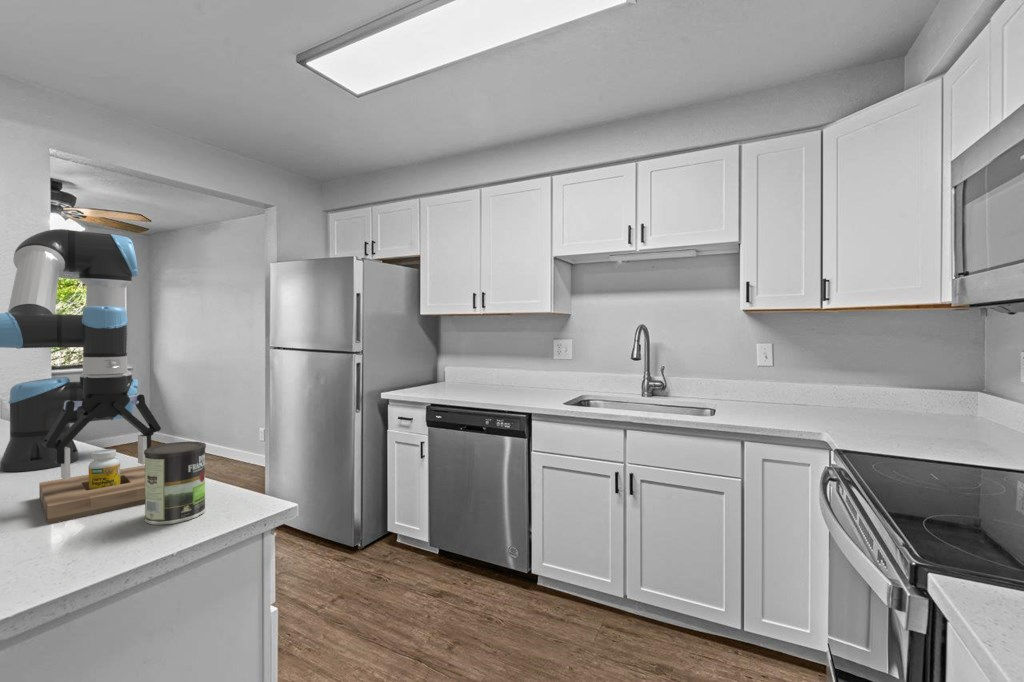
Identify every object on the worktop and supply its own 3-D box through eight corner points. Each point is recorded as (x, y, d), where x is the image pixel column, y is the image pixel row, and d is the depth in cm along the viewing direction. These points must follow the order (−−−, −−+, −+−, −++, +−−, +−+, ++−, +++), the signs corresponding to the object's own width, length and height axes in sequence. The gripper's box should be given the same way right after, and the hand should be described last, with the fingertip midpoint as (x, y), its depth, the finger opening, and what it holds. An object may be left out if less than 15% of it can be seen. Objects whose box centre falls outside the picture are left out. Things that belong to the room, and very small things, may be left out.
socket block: (39, 498, 105) (39, 482, 105) (150, 478, 120) (150, 464, 120) (47, 524, 92) (47, 506, 91) (172, 497, 107) (171, 482, 106)
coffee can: (214, 504, 103) (214, 440, 103) (190, 524, 93) (190, 452, 92) (162, 506, 101) (162, 441, 101) (132, 526, 91) (131, 454, 91)
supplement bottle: (122, 488, 109) (121, 446, 109) (118, 495, 105) (118, 452, 104) (91, 492, 106) (90, 449, 106) (86, 499, 102) (86, 455, 101)
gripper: (33, 381, 92) (34, 489, 93) (177, 372, 114) (177, 460, 114) (21, 379, 96) (22, 482, 97) (162, 370, 118) (162, 455, 118)
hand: (106, 470), depth 106 cm, fingers open, 13 cm apart
